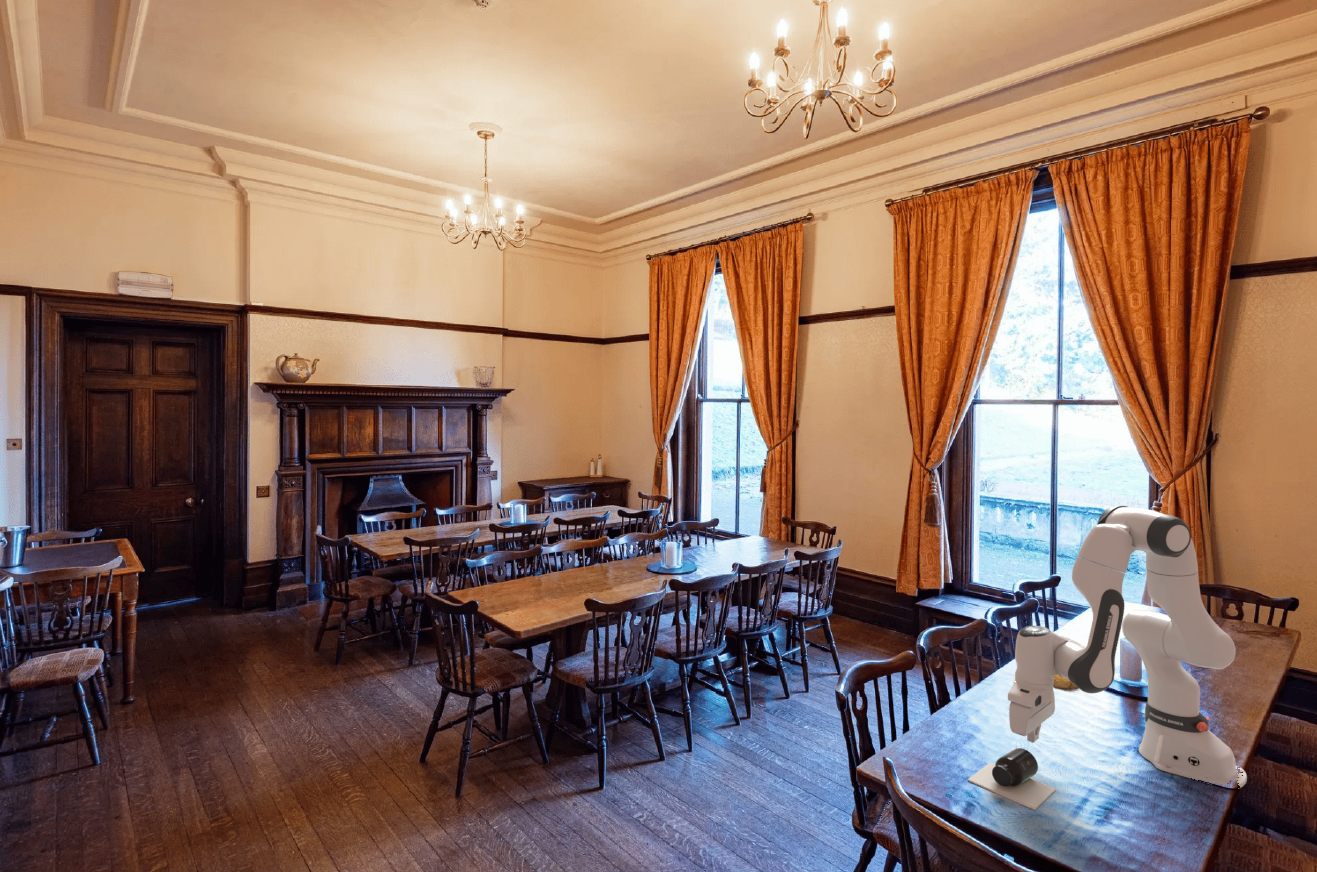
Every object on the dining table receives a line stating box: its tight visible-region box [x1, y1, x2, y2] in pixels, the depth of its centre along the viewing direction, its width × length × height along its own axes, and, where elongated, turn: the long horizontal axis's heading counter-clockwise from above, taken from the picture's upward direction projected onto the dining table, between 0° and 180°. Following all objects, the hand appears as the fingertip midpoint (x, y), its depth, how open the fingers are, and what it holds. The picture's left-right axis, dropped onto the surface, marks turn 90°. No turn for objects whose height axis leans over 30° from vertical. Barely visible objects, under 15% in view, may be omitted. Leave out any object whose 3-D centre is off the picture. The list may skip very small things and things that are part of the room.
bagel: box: [1053, 675, 1078, 690], centre depth 228 cm, size 10×11×5 cm
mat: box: [967, 761, 1057, 811], centre depth 167 cm, size 16×13×1 cm
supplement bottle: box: [992, 747, 1039, 787], centre depth 167 cm, size 7×7×12 cm
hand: (1032, 740), depth 174 cm, fingers closed
